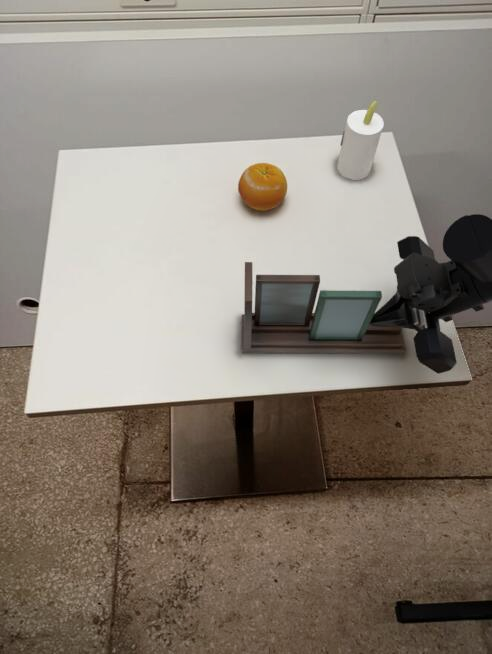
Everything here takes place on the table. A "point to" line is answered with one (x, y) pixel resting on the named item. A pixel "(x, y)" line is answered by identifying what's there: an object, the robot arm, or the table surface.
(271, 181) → the fruit
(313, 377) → the table surface
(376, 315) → the robot arm
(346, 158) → the candle
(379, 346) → the frame display rack
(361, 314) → the sash
